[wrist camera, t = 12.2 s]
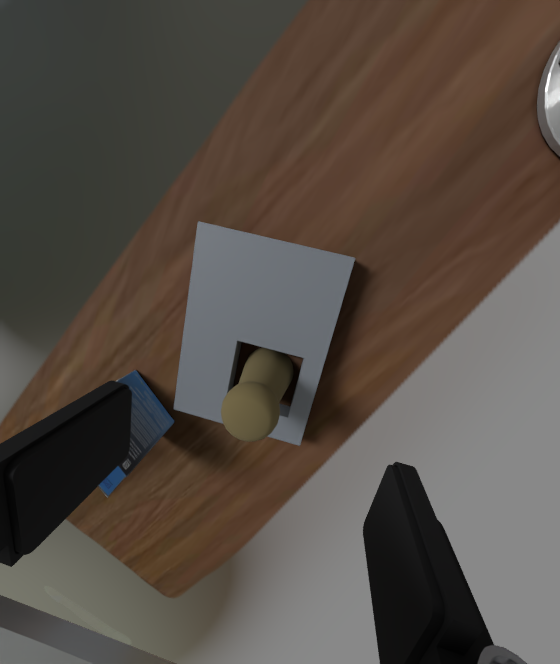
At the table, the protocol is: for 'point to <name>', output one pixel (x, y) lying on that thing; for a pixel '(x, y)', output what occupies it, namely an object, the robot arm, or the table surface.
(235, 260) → the socket board
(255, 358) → the cork
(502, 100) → the table surface
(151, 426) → the blue and white box
